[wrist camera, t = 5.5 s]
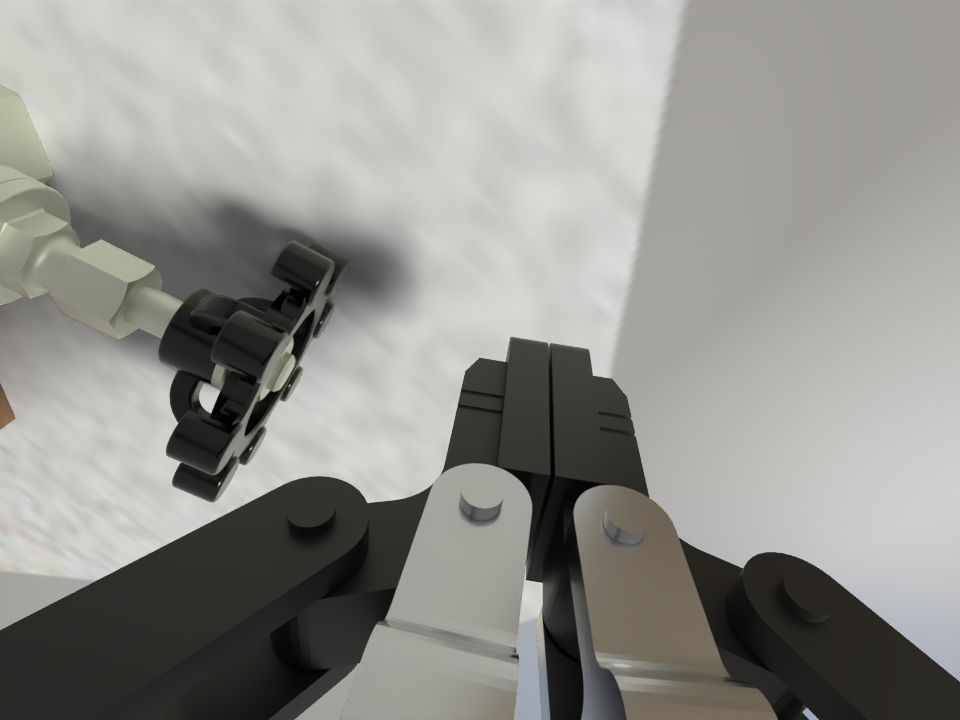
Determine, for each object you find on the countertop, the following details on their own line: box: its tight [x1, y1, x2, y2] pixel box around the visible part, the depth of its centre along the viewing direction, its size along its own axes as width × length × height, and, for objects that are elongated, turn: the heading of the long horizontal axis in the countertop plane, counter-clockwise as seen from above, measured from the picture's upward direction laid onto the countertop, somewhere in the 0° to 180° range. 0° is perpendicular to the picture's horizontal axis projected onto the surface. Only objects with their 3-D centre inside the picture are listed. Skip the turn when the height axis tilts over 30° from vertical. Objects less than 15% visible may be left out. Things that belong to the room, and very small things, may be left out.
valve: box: [0, 84, 349, 503], centre depth 12 cm, size 7×7×12 cm
